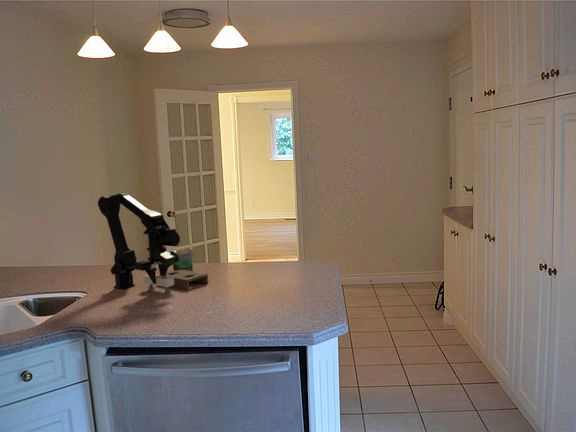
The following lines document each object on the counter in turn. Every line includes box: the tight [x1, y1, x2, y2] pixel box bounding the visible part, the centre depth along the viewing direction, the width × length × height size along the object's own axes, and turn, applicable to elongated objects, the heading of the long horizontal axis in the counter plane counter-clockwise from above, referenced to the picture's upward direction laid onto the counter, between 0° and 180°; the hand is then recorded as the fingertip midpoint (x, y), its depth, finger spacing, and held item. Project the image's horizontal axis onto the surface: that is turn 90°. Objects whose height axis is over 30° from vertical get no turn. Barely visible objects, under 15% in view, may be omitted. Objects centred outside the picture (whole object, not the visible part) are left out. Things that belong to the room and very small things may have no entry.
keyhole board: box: [166, 269, 209, 290], centre depth 223 cm, size 12×18×4 cm, turn 54°
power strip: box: [142, 274, 174, 294], centre depth 212 cm, size 4×14×7 cm, turn 54°
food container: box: [172, 249, 195, 271], centre depth 240 cm, size 12×6×10 cm, turn 143°
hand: (158, 282), depth 212 cm, fingers closed on power strip, 4 cm apart
